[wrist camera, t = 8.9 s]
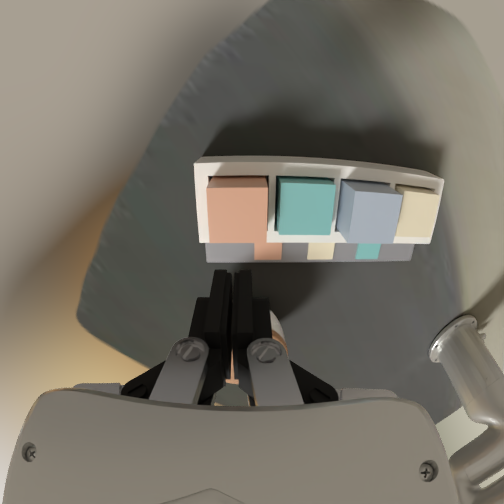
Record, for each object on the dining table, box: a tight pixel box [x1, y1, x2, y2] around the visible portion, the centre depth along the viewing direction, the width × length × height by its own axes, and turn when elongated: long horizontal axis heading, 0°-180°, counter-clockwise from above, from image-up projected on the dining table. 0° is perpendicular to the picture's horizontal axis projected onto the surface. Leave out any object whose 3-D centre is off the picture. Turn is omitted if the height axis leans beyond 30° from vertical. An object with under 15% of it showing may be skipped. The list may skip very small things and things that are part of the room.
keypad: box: [194, 156, 444, 262], centre depth 27 cm, size 26×12×4 cm, turn 90°
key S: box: [335, 178, 403, 244], centre depth 24 cm, size 5×5×5 cm
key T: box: [275, 176, 336, 235], centre depth 25 cm, size 5×5×5 cm
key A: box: [206, 175, 268, 243], centre depth 24 cm, size 5×5×5 cm
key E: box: [395, 184, 440, 237], centre depth 26 cm, size 5×5×5 cm
